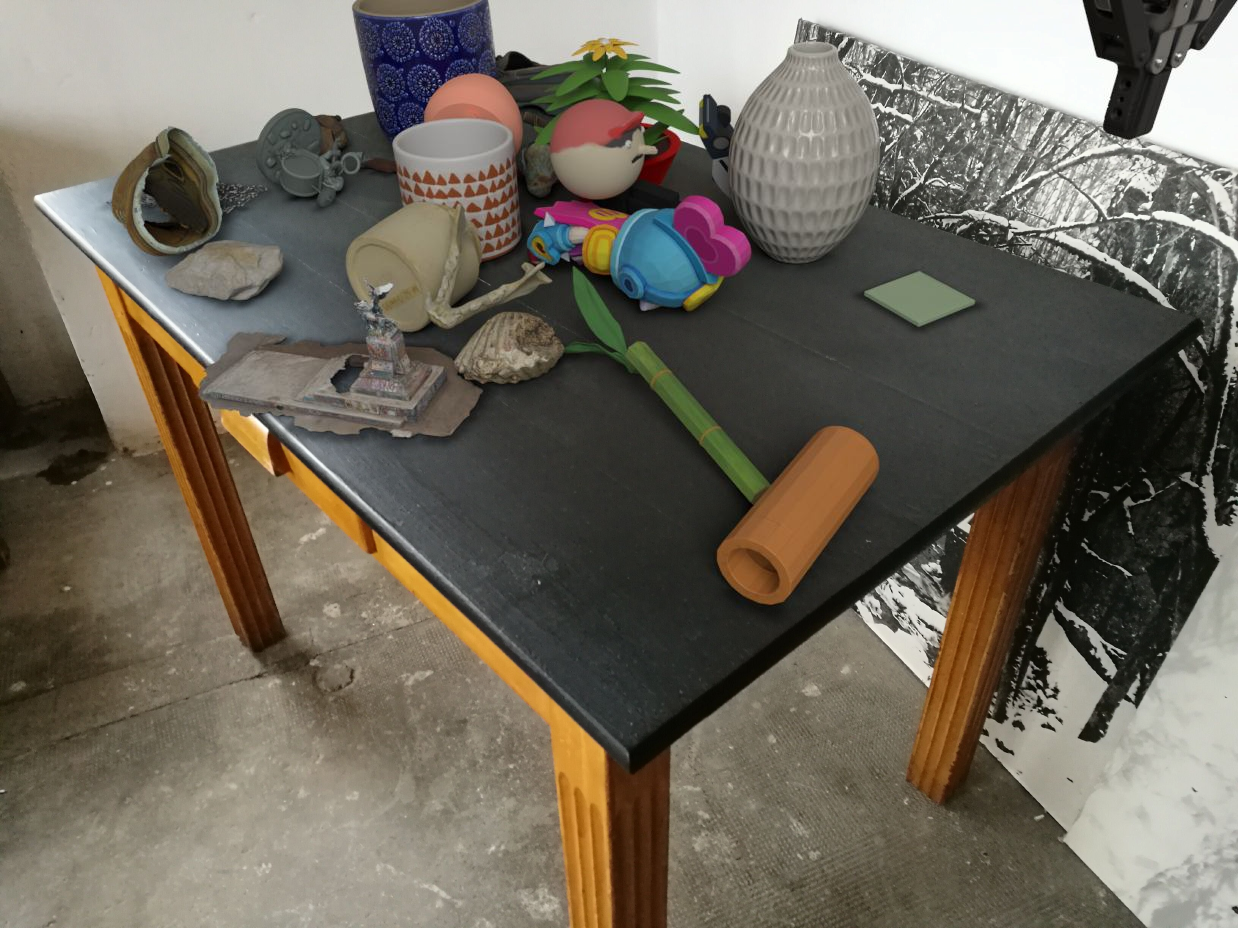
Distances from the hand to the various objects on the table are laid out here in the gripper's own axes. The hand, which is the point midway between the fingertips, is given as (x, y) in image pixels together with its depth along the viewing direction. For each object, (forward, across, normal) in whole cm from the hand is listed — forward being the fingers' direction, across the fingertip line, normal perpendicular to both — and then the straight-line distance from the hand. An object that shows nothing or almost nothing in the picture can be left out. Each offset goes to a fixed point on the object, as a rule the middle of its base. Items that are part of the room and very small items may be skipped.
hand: (1125, 133), depth 53 cm
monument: (+29, -40, +47) cm, 68 cm away
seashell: (+24, -23, +35) cm, 48 cm away
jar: (+26, -10, +9) cm, 29 cm away
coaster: (+29, +17, +27) cm, 43 cm away
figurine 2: (+27, -25, +112) cm, 117 cm away
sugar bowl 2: (+20, -12, +75) cm, 78 cm away
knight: (+26, -10, +59) cm, 66 cm away
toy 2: (+26, +3, +45) cm, 52 cm away
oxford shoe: (+22, -44, +90) cm, 102 cm away
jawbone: (+24, -26, +46) cm, 58 cm away
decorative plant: (+29, -17, +25) cm, 42 cm away
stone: (+26, -40, +76) cm, 89 cm away
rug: (+28, -44, +104) cm, 116 cm away
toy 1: (+21, -5, +52) cm, 56 cm away
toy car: (+20, +15, +54) cm, 60 cm away
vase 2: (+29, -17, +68) cm, 76 cm away
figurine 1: (+24, -30, +100) cm, 107 cm away
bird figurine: (+23, +8, +88) cm, 91 cm away
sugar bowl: (+24, -33, +54) cm, 68 cm away
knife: (+29, -16, +86) cm, 93 cm away
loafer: (+29, +13, +110) cm, 114 cm away
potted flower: (+29, +3, +66) cm, 72 cm away
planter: (+29, -8, +99) cm, 103 cm away
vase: (+29, +14, +43) cm, 54 cm away
